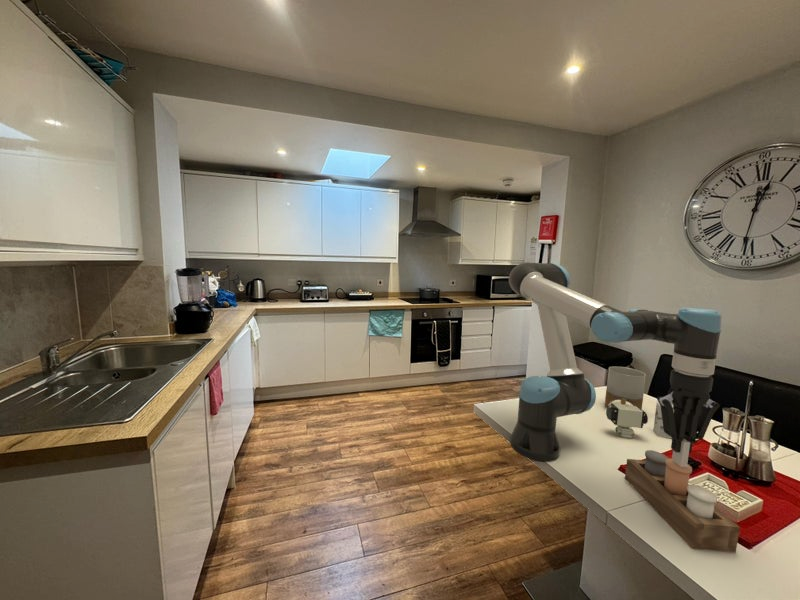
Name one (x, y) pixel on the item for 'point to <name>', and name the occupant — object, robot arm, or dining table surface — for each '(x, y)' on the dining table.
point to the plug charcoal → (655, 463)
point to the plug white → (701, 501)
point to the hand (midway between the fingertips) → (679, 463)
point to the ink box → (659, 423)
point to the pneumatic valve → (626, 418)
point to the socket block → (683, 512)
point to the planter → (625, 386)
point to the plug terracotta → (676, 478)
